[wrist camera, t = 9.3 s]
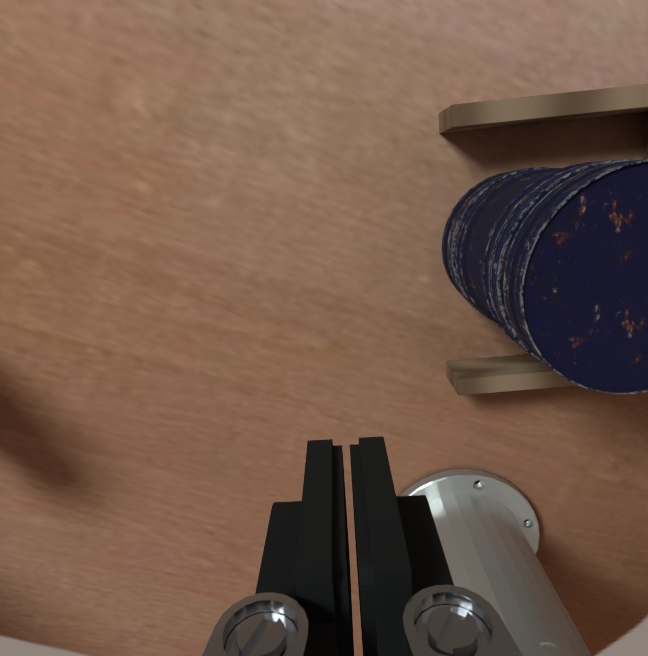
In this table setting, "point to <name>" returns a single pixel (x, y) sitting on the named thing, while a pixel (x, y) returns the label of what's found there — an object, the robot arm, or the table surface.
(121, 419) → the table surface
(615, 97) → the dock
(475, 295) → the dark blue cylinder
